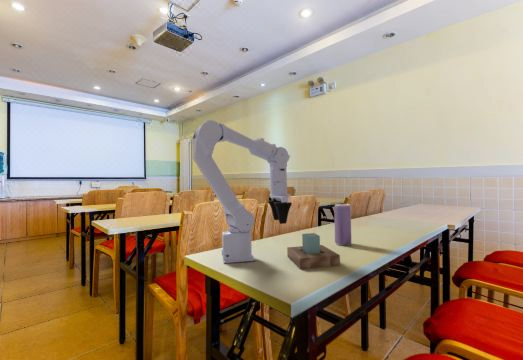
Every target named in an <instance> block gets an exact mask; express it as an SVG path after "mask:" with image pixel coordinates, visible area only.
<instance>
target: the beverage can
mask: <svg viewBox="0 0 523 360" xmlns="http://www.w3.org/2000/svg"><path fill="white" fill-rule="evenodd" d="M333 210H334V212H333V213H334V215H333V216H334V243H335V244H336V245H337V246H345V247H347V246H350V245H352V207H351V204H349V203H335V204H334V207H333Z"/></svg>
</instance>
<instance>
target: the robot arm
mask: <svg viewBox="0 0 523 360" xmlns="http://www.w3.org/2000/svg"><path fill="white" fill-rule="evenodd" d="M191 140H192V160H193V161H194V163H195V164H196V166H197V168H198V169H199V171H200V173H201V174H202V176H203V177H204V179H205V181H206V182H207V184H208V185H209V187H210V189H211V190H212V192H213V193H214V195H215V196H216V198H217V199H218V201H219V203H220V205H221V206H222V210H223V213H224V216H225V221H226V224H227V225H228V226H229V227H228V230H227V231H222V235H221V236H222V237H221V238H222V244H221V246H222V249H221V256H222V260H223V263H224V264H230V263H232V264H233V263H241V262H242V263H243V262H253V261H254V262H255V257H254V255H253V254H252V252H253V251H252V250H253V249H252V246H253V245H252V228H253V227H254V225H255V217H254V214H253V213H252V212H250V211H249V210H247V209H246V207H245V205H244V204H243V203H242V202H240V201H239V199H238V198H237V196H236V194H235V193H234V191H233V189H232V188H231V186H230V185H229V183H228V181H227V180H226V178H225V176H224V175H223V173H222V171H221V170H220V168H219V166H218V165H217V163H216V161H215V159H214V158H213V153H214V149H215V146H217V144H218V143H222V142H223V143H224V142H228V143H230V144H234V145H236V146H239V147H242V148H245V149H247V150H248V151H249V154H250V155H253V156H255V157H258V158H260V159H263V160H265V161H266V162H267V163H268V164H269V180H270V181H269V182H270V197H269V198H271V200H267V203H268V205H269V206H270V208H271V213H272V217H273V220H274V221H278V222H279V224H280V225H283V224H287V222H288V217H289V212H290V209H291V206H292V204H293V203H292V202H291V201H290V202H289V197H291V194H288V175H287V171H288V170H287V167H288V161H289V160H290V157H291V156H290V155H291V154H289V152H288V150H287V149H286V148H285V147H284V146H283V147H282V146H278V147H277V144H276V143H270V142H268V141H265V138H263V137H259V138H254V139H252V138H250V137H248V136H245V135H244V134H242V133H240V132H238V131H236V130H234V129H233V128H230V127H228V126H226V125H225V124H224V123H221V122H220V123H218V122H217V121H215V120H212V119H211V120H205V121H204V122H203V123H202V124H201V125H199V126H198V127H197V128H196V129H195V131H194V133H193V135H192V137H191Z"/></svg>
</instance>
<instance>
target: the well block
mask: <svg viewBox="0 0 523 360" xmlns="http://www.w3.org/2000/svg"><path fill="white" fill-rule="evenodd" d="M286 252H287V255H286V257H287V258H288V259H289V260H290V261H291V262H292V263H293V264H294V265H295V266H296V267H297V268H298V269H299V270H305V269H306V270H307V269H317V268H319V269H320V268H327V267H339V266H341V256H340V254H339V253H337V252H335V251H334V250H332V249H330V248H328V247H327V246H325V245H323V244H320V253H319V254H307V255H306V254H305V253H304V252H303V245H301V246H300V245H299V246H288V247H287V248H286Z"/></svg>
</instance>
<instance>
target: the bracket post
mask: <svg viewBox="0 0 523 360" xmlns="http://www.w3.org/2000/svg"><path fill="white" fill-rule="evenodd" d="M301 236H302V238H301V239H302V241H301V242H302V246H303V252H304V253H305V254H306V255H307V254H319V253H320V245H321V235H319V234H317V233H315V232H312V233H311V232H310V233H302V234H301Z"/></svg>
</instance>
